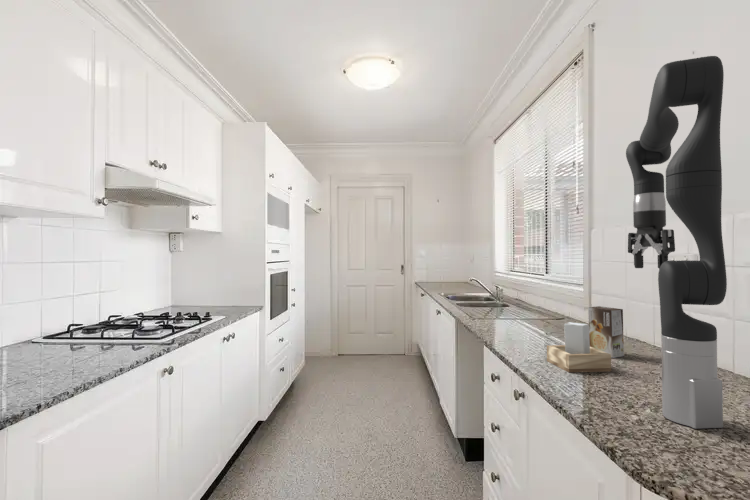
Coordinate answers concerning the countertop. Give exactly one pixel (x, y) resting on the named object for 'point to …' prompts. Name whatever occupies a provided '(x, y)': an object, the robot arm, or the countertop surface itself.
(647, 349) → the countertop surface
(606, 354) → the light wooden tray
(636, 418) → the countertop surface
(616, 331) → the coffee box
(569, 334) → the skincare box
